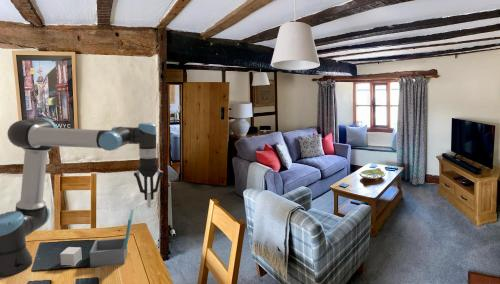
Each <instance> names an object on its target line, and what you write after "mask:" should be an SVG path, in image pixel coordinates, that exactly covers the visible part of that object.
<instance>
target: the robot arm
mask: <svg viewBox="0 0 500 284" xmlns="http://www.w3.org/2000/svg"><path fill="white" fill-rule="evenodd" d="M7 138H8V140H9V142H10V143H11V144H12V145H13V146H15V147H18V148H21V149H23V150H24V155H23V156H24V158H23V166H22V178H21V190H20V191H21V192H20V199H19V200H18V201H17V202H16V204H15V210H12V211H6V212H5V213H1V214H0V278H2V277H9V276H12V275H16V274H19V273H22V272H23V271H25V270H27V269H29V268H30V267H31V266H32V265H33V257H32V256H33V255H31V252H30V251H29V249H28V248H27V241H26V237H27V236H28V235H31V234H32V233H34V232H35V231H37V230H38V229H41V228H42V227H43V226H45V224H47V222H48V221H49V219H50V216H51V215H50V214H51V213H50V209H49V208H48V206H47V203H46V201H44V199H43V198H44V190H45V180H46V169H47V160H48V152H50V151H51V150H52V149H53V147H62V148H63V147H64V148H65V147H66V148H87V149H89V148H92V149H103V150H105V151H115V150H117V149H119V148H121V147H124V146H125V145H138V151H139V155H138V156H139V160H138V161H139V168H138V170H136V171H134V173H133V176H134V177H135V178H136V182H137V186H138V189H139V192H140V193H141V194H144V201H146V205H147V206H146V207H147V208H148V209H149V208H152V201H153V200H154V195H155V193H157V192H158V190H159V187H160V186H159V185H160V181H161V177H162V175H163V174H164V171H163V170H160V169H159V167H158V159H157V154H158V152H157V151H158V150H157V149H158V147H157V127H156V124H155V123H152V122H140V123H139V124H138V126H135V127H134V126H133V127H131V126H114V127H112V128H111V129H110V130H108V129H103V130H102V129H87V128H85V129H83V128H68V127H67V128H65V127H64V128H63V127H62V128H61V127H58V125H57V124H56V123H55V122H54V121H53V120H51V119H49V118H45V117H34V118H29V119H21V120H17V121H15V122H13V123H11V124H10V126H9V127H8V130H7ZM156 174H157V179H156V182H155V186H154V176H155V175H156ZM140 175H142V177H143V183H142V181H141V180H142V179H141V176H140ZM148 178H149V183H150V184H149V185H150V186H149V187H150V191H148Z"/></svg>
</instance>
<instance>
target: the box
mask: <svg viewBox="0 0 500 284" xmlns="http://www.w3.org/2000/svg"><path fill="white" fill-rule="evenodd" d="M125 238H126V237H120V238H119V237H118V238H116V237H115V238H108V239H105V238H104V239H95V240H94V242H93V245H92V247H91V249H90V250H89V264H90V268H98V267H108V266H117V265H119V266H120V265H124V264H125V262H126V259H127V253H128V246H127V247H126V249H124V244H125Z"/></svg>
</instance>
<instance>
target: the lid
mask: <svg viewBox="0 0 500 284" xmlns="http://www.w3.org/2000/svg"><path fill="white" fill-rule="evenodd" d="M133 214H134V209H130V213H129V217H128V219H127V220H128V221H127V227H126V234H125V237H124V238H125V244H124V249H126V247H127V248H128V242H129V240H130V234H131V229H132V228H131V227H132V221H133V216H134V215H133Z"/></svg>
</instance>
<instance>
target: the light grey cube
mask: <svg viewBox="0 0 500 284" xmlns="http://www.w3.org/2000/svg"><path fill="white" fill-rule="evenodd" d="M82 256H83V255H82V247H80V246H78V247H77V246H76V247H75V246H74V247H73V246H68V247H66V248H65V249H64V250H63V251H62V252H61V253H59V257H60V266H61V265H71V266H70V267H75V266H77V265H78V264H79V263H80V262H81V261H82V260H83V257H82ZM80 260H81V261H80ZM79 261H80V262H79ZM78 262H79V263H78ZM77 263H78V264H77ZM76 264H77V265H76Z"/></svg>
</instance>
